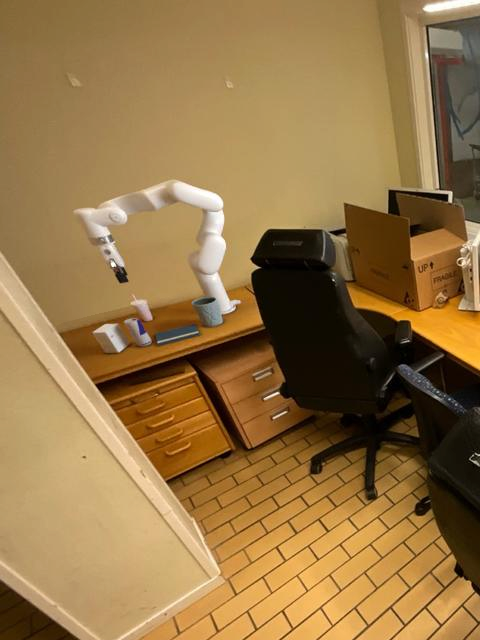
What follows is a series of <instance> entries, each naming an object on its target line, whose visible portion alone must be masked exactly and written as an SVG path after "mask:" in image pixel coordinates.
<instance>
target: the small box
mask: <svg viewBox="0 0 480 640" xmlns="http://www.w3.org/2000/svg"><path fill="white" fill-rule="evenodd" d="M91 334H92V335H93V337H94V339H96V341H97V343H98V345H100V347H101V349H102V350H103V351H104V353H105V354H119V353H120V352H122V351H123V350H125V349H126V348H127V347H129V346H130V345H131V342H130V340H129V339H128V337H127V335H126V334H125V333H124V330H123V329H122V327H121V326H120V324H119V323H104V324H103V325H102V326H100V327H98V328H96V329H95V330H94V331H92V332H91Z"/></svg>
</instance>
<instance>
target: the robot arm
mask: <svg viewBox="0 0 480 640" xmlns="http://www.w3.org/2000/svg"><path fill="white" fill-rule="evenodd" d="M176 203H182V204H184V205H187V206H190V207H194V208H197V209H201V211H202V217H201V222H200V225H199V228H198V231H197V233H196V238H195V241H196V243H197V245H198V246H199V247H200V249H194V250H192V251H190V252H189V253H188V255H187V263H188V266H189V268H190V269H191V271H192V273H193V274H194V277H195V278H196V281H197V283H198V285H199V287H200V290H201V292H202V294H203V297H214V298H216V299H217V303H218V306H219V309H220V313H221V315H228V314H230V313H233V312H235V310H236V308H237V307H236V305H240V304H242V302H241V299H238V300H237V299H233V300H230V298H229V296H228V294H227V291H226V289H225V287H224V284H223V282H222V279H221V276H220V274H219V273H218V271H219V270H220V268H221V265H222V263H223V261H224V260H223V259H224V257H225V254H226V251H227V243H226V241H225V239H224V237H222V233H223V229H224V225H225V214H224V211H223V208H224V201H223V199H222V197H221V196H219V195H218V194H217V193H216V192H215V193H214V192H213V191H210V190H207V189H203V188H199V187H196V186H194V185H191V184H188V183H185V182H183V181H180V180H177V179H169V180H166V181H163V182H160V183H158V184H154V185H152V186H150V187H147V188H144V189H141V190H138V191H134V192H131V193H127V194H124V195H120V196H117V197H115V198H112V199H109V200H106V201H104V202H102V203H100V204H99V205H98V206H97V208H94V207H82V208H76V209H75V210H73V216H74V217H75V219H76V221H77V223H78V224H79V226H80V228H81V229H82V231H83V232H84V233H83V234H84V235H85V236H86V238H87V239H88V241H89V243H90V245H91V246H92V247H96V248H97V250H98V252H99V253H100V255H101V257H102V258H103V260H104V263H106V265H107V266H108V268H109V269H110V270H112V272H113V273H114V276H115V278H116V280H117V282H118V283H119V284H125V283H129V282H130V281H129V279H128V277H127V276H128V272H127V271H126V269H125V267H126V266H125V261H124V260H123V258H122V255H121V254H120V253H119V251H118V249H117V248H116V245H115V243H116V240H115V239H114V237H113V235H112V233H111V231H110V230H109V228H108V227H116V226H117V227H118V226H119V227H120V226H122V225H125V224H126V223H127V222H128V216H130V215H131V216H132V215H134V214H137V213H142V212H156V211H159V210H162V209H164V208H166V207H169V206H171V205H174V204H176Z"/></svg>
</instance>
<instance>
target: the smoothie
mask: <svg viewBox="0 0 480 640" xmlns="http://www.w3.org/2000/svg"><path fill="white" fill-rule="evenodd" d="M131 296H132V297H133V299H134V300H133V301H131V302H130V306H131V307H132V308H133V309H134V310H135V311H136V313H137V314H138V315H139V317H140V318H141V319H142V320H143V322H150V321H153V319H154V318H153V315H152V313H151V310H150V307H149V305H148V301H147V299H137V298H136V297H135V295H134V294H133V293H132V294H131Z"/></svg>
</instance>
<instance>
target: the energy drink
mask: <svg viewBox="0 0 480 640" xmlns="http://www.w3.org/2000/svg"><path fill="white" fill-rule="evenodd" d="M123 323H124V326H125V327H126V329H127V330H128V332H129V334H130V335H131V337H132V339H133V340H134V342H135V344H136V345H137V346H138V347H147V346H149V345H151V344H152V342H153V340H152V339H151V337H150V335H149V334H148V332H147V330H146V328H145V326H144V325H143V323H142V321H141V320H140V319H139V318H138V317H130V318H127V319H125V320H124V321H123Z"/></svg>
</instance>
